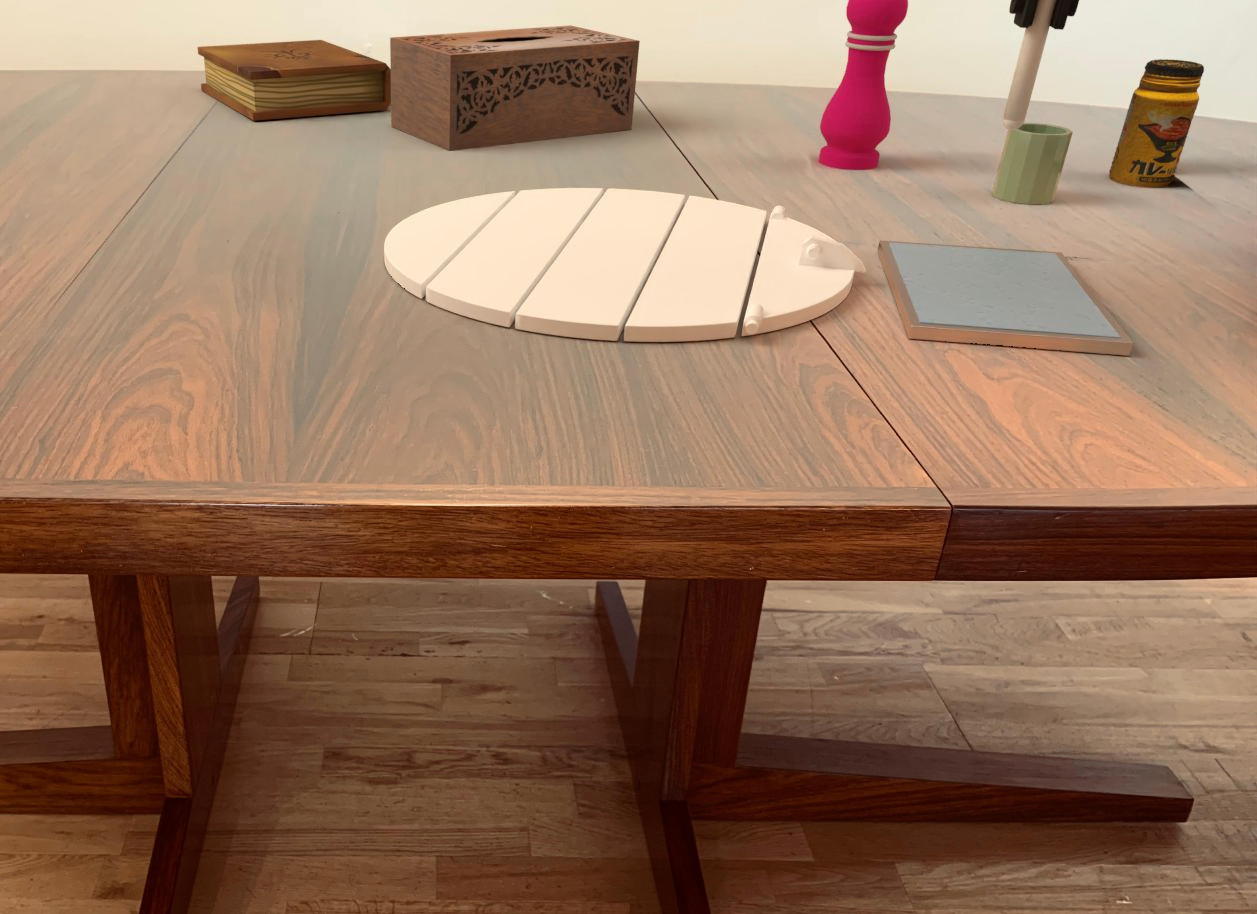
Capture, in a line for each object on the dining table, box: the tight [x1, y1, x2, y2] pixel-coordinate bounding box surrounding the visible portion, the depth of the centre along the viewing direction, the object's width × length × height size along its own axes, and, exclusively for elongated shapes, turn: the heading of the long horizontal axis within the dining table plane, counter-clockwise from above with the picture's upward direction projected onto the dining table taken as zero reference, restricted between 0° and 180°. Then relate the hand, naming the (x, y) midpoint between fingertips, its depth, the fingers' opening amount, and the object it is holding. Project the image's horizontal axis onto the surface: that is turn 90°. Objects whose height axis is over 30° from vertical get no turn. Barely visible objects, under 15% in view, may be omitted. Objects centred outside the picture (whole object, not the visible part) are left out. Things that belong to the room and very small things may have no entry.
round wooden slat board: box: [383, 187, 867, 343], centre depth 101 cm, size 40×39×3 cm
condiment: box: [1108, 58, 1205, 189], centre depth 124 cm, size 7×8×12 cm
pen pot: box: [991, 122, 1073, 206], centre depth 118 cm, size 6×6×7 cm
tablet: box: [877, 240, 1134, 357], centre depth 94 cm, size 15×22×1 cm
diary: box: [197, 39, 391, 121], centre depth 158 cm, size 23×19×6 cm
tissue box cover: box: [389, 24, 641, 151], centre depth 144 cm, size 26×14×10 cm, turn 119°
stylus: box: [1002, 0, 1057, 130], centre depth 90 cm, size 2×2×13 cm
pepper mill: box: [818, 0, 909, 171], centre depth 126 cm, size 7×7×20 cm
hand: (1038, 24), depth 90 cm, fingers closed on stylus, 1 cm apart
